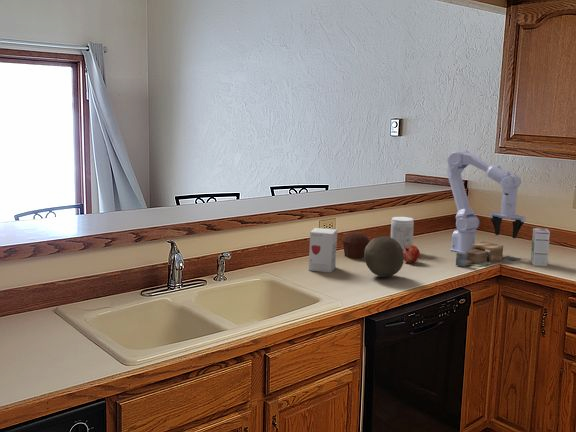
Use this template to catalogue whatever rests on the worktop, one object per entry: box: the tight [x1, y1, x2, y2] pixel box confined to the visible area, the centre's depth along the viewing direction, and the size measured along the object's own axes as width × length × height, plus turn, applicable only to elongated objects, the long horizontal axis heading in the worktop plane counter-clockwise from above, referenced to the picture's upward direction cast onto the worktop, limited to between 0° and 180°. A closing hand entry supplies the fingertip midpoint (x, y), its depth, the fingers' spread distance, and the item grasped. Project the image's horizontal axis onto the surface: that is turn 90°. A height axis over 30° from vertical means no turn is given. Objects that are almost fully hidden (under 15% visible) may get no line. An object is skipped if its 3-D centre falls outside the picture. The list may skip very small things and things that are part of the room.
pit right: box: [502, 255, 522, 262], centre depth 261 cm, size 6×6×1 cm
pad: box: [470, 261, 491, 268], centre depth 252 cm, size 10×9×1 cm
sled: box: [455, 249, 488, 267], centre depth 250 cm, size 5×16×5 cm, turn 133°
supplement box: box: [308, 227, 338, 273], centre depth 234 cm, size 9×9×15 cm
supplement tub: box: [390, 216, 415, 250], centre depth 266 cm, size 10×10×15 cm
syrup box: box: [529, 227, 551, 267], centre depth 251 cm, size 6×6×14 cm
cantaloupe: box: [363, 236, 405, 278], centre depth 225 cm, size 14×14×15 cm
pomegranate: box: [403, 244, 421, 265], centre depth 249 cm, size 7×7×10 cm
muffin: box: [341, 231, 371, 260], centre depth 257 cm, size 12×11×10 cm
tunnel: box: [472, 241, 504, 264], centre depth 258 cm, size 9×9×6 cm
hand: (505, 236), depth 257 cm, fingers open, 7 cm apart
